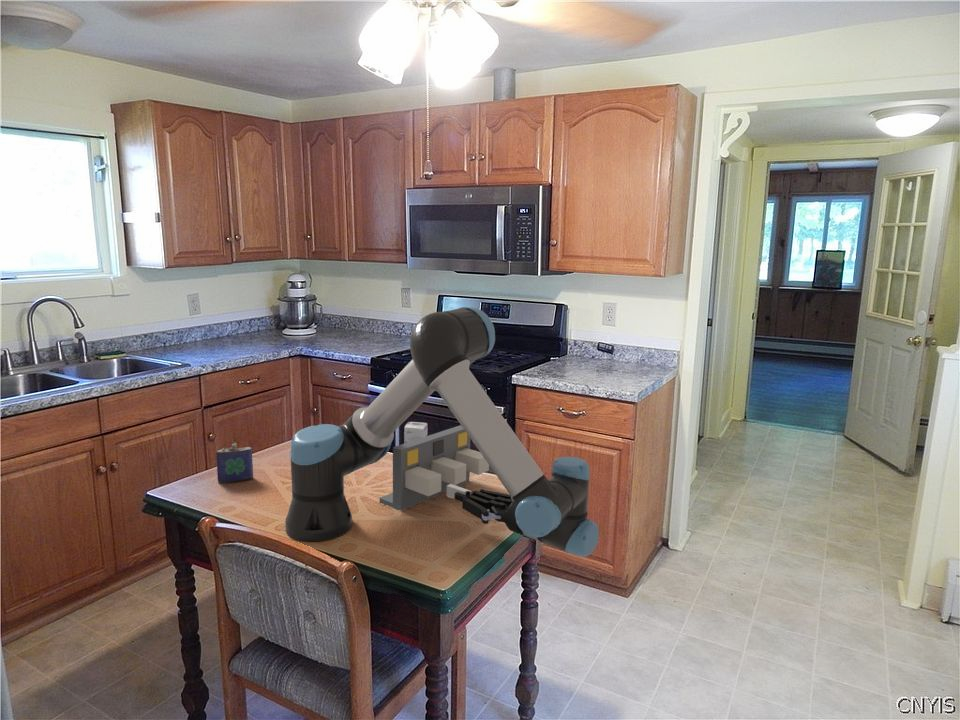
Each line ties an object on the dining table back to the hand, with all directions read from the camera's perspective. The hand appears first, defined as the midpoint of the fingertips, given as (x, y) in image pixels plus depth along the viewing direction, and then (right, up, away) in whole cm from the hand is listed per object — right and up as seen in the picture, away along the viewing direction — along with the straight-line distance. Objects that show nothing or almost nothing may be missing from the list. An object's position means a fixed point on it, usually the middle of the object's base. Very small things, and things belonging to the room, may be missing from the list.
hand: (448, 490), depth 152 cm
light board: (-7, -4, +19) cm, 20 cm away
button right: (+4, +2, +21) cm, 21 cm away
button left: (-8, -1, +6) cm, 10 cm away
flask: (-60, -2, +23) cm, 64 cm away
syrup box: (-11, -2, +32) cm, 34 cm away
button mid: (-2, +1, +14) cm, 14 cm away
